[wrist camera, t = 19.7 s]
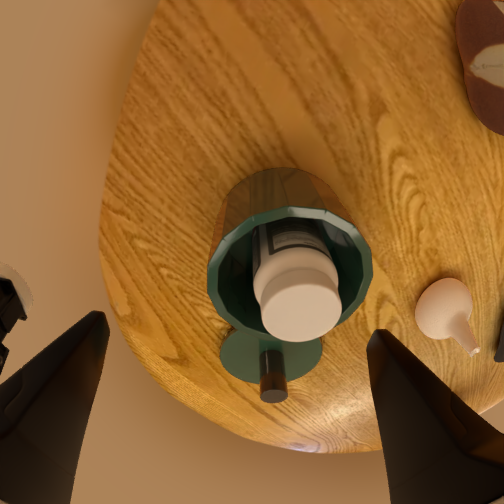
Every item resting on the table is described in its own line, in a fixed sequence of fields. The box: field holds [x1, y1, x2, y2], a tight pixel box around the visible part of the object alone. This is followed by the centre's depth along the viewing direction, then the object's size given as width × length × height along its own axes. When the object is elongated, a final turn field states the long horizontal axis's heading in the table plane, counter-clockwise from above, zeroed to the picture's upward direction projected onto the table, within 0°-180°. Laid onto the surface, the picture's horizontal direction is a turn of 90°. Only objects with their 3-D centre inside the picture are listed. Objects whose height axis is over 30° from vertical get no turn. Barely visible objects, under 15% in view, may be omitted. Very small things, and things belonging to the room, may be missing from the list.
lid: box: [220, 328, 322, 403], centre depth 26 cm, size 10×10×6 cm
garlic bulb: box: [415, 278, 480, 357], centre depth 23 cm, size 6×6×8 cm
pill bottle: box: [252, 217, 342, 342], centre depth 18 cm, size 5×5×8 cm
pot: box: [207, 168, 373, 341], centre depth 19 cm, size 9×9×6 cm
